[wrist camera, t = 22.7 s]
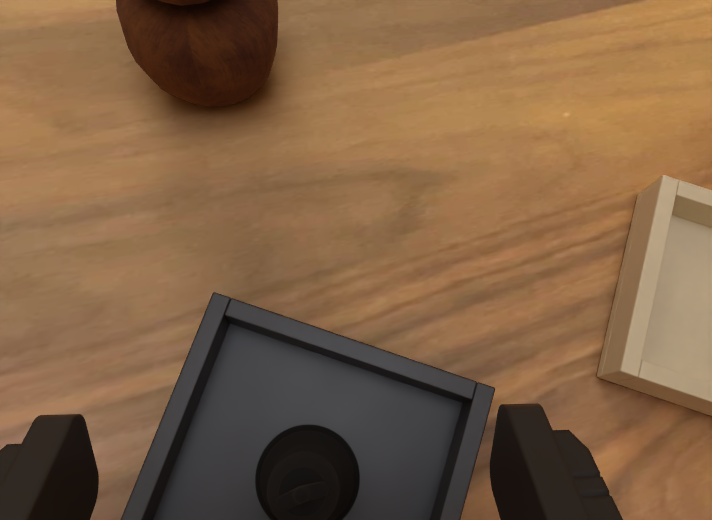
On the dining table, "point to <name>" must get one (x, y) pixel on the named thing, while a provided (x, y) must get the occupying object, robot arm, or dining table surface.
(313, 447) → the chess piece
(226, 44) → the wooden figurine
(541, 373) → the dining table surface
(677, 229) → the cream tray
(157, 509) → the charcoal tray
